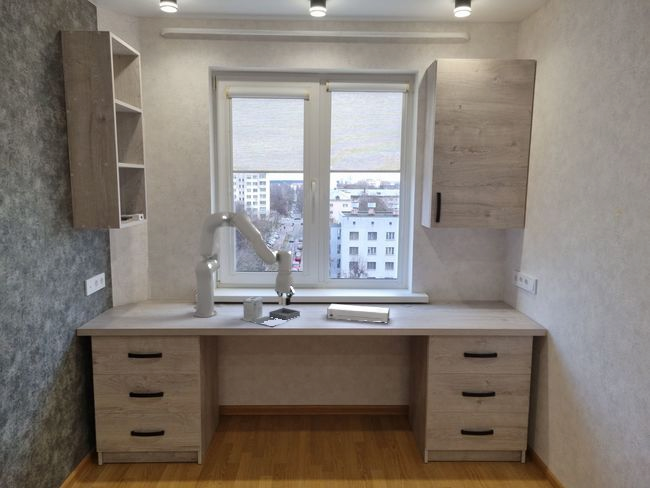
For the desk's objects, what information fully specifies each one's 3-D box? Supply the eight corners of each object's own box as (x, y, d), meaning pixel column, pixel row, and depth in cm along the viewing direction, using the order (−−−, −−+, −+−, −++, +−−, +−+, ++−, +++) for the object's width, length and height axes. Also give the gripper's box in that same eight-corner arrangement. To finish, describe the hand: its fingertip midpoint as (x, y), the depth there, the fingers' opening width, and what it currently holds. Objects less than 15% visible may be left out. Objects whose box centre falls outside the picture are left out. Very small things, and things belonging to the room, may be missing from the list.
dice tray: (269, 317, 248) (269, 311, 248) (283, 312, 258) (283, 307, 258) (285, 321, 241) (285, 315, 241) (299, 316, 251) (299, 311, 251)
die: (278, 304, 248) (278, 296, 247) (284, 303, 252) (284, 295, 251) (285, 306, 245) (285, 297, 245) (290, 304, 249) (290, 296, 249)
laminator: (389, 318, 251) (389, 308, 250) (387, 324, 239) (387, 313, 238) (331, 314, 258) (331, 303, 258) (326, 319, 246) (326, 309, 246)
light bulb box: (252, 314, 252) (252, 295, 251) (262, 315, 250) (262, 296, 248) (242, 319, 242) (242, 299, 241) (253, 320, 240) (253, 301, 238)
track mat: (240, 319, 243) (240, 318, 243) (255, 314, 253) (255, 313, 253) (272, 327, 230) (272, 326, 229) (287, 322, 239) (287, 321, 239)
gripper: (269, 271, 248) (269, 303, 250) (292, 275, 239) (291, 308, 241) (278, 269, 254) (277, 300, 257) (300, 273, 245) (300, 305, 247)
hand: (284, 303), depth 249 cm, fingers closed on die, 4 cm apart
